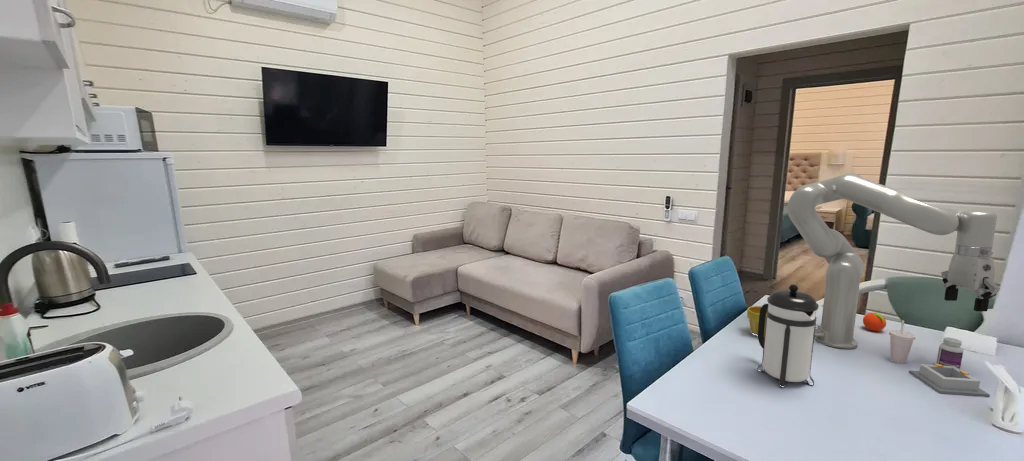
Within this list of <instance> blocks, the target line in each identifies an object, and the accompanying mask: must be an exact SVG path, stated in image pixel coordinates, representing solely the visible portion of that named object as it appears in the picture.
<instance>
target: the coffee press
mask: <svg viewBox="0 0 1024 461" xmlns="http://www.w3.org/2000/svg"><path fill="white" fill-rule="evenodd" d="M766 300H767V303H764V304H763V305H761V309H760V314H759V324H758V337H757V339H758V343H759V346H760V347H761V348H762V349H763V350H762V358H761V359H762V360H761V361H762V362H761V363H760V365H758V367H756V370H757V369H760V367H762V368H763V369H764V371H763V372H765V373H767V374H768V375H770V376H771V377H774V378H776V379H777V380H779V383H778V386H779V385H781V386H784V385H785V386H786V382H792V383H799V382H805V383H806V384H807V383H808V382H809V380H807V379H808V378H809V379H810V381H811V383H813V386H814V384H815V380H814V379H813V377H812V375H811V374H810V372H811V369H812V364H811V363H813V362H812V360H813V359H812V358H813V355H812V354H813V352H814V346H813V345H815V344H814V343H815V336H814V335H815V329H816V324H817V311H818V310H819V306H820V305H819V303H818V302H817V300H816V299H815V298H814V297H813V296H811V295H810V294H808V293H805V292H802V291H799V287H798V285H796V284H791V285H790V286H789V287H788V289H780V290H776V291H772V292H771V293H770V295H769V296H768V297H767V299H766ZM766 312H767V316H766ZM765 319H766V326H765ZM764 330H765V336H764Z"/></svg>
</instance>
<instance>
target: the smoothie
mask: <svg viewBox="0 0 1024 461" xmlns="http://www.w3.org/2000/svg"><path fill="white" fill-rule="evenodd" d="M904 325H905V320H904V319H902V320H901V325H900V326H901V327H900V329H891V330H889V333H888V335H889V336H890V337H889V339H890V340H889V342H890V343H889V345H890V361H892V362H894V363H897V364H902V365H903V364H907V360H908V358H909V354H910V351H911V349H912V345H913V343H914V341H915V340H916V335H915V334H913V333H911V332H910V331H909V332H908V331H905V330H904V328H905V327H904Z"/></svg>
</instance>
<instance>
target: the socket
mask: <svg viewBox="0 0 1024 461" xmlns="http://www.w3.org/2000/svg"><path fill="white" fill-rule="evenodd" d="M908 373H909V374H910V375H911V376H913V377H914V378H916V379H918V380H919V381H920V382H922V383H923V384H924V385H927V386H928V387H930V388H931V389H932V390H934V391H935V392H937V393H938V394H942V395H952V396H953V395H954V396H955V395H956V396H966V397H980V396H985V397H984V398H990V396H991V394H990V393H988V392H986V391H984V390H983V389H981V388H980V385H981V384H980V383H981V381H980V380H979V379H977V378H975V377H973V376H972V375H970V373H968V372H967V371H965V370H961V368H960V369H958V368H956V367H954V366H943V365H941V364H937V363H934V364H924V363H920V365H919V370H912V369H909V370H908Z"/></svg>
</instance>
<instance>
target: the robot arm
mask: <svg viewBox="0 0 1024 461" xmlns="http://www.w3.org/2000/svg"><path fill="white" fill-rule="evenodd" d="M788 199H789V200H788V202H787V215H788V217H789V219H790V221H791V223H792V224H793V225H794V227H795V228H796V229H797V231H798V232H799V234H800V236H801V238H803V240H804V241H805V243H806V244H807V245H808V247H809V248H810V250H811V252H812V253H813V254H814V255H816V256H818V257H819V258H823V259H824V260H825V261H826V262H827V264H828V265H827V268H826V272H825V284H824V286H825V287H824V297H823V306H822V313H821V323H820V325H819V326H817V328H814V329H815V335H814V336H813V337H814V340H816V341H817V342H819V343H820V344H822V345H825V346H828V347H832V348H835V349H836V348H837V349H844V350H852V349H856V348H857V347H858V345H859V343H858V341H857V340H856V339H855V338H854V332H855V326H856V325H855V324H856V319H857V318H856V317H857V308H858V301H859V293H860V285H861V284H860V283H861V279H862V278H861V277H862V275H863V272H864V271H865V270H864V269H865V264H864V262H863V260H862V257H861V256H860V255H859V254H858V253H857V251H856V250H855V249H854V247H852V245H851V243H850V242H849V241H848V239H847V238H846V237H845V236H844V235H843V234H842V233H841V232H839V231H838V230H836V229H833V228H830V227H829V226H828V225H827V223H826V222H825V221H824V219H823V217H822V216H821V215H820V214H819V213H818V212H817V210H816V207H817V206H819V205H822V204H826V203H827V204H828V203H831V202H836V201H838V200H843V199H844V200H845V201H848V202H852V203H854V204H856V205H859V206H861V207H864V208H867V209H870V210H872V211H875V212H878V213H879V214H882V215H884V216H886V217H888V218H892V219H894V220H897V221H899V222H901V223H903V224H906V225H909V226H910V227H912V228H915V229H918V230H920V231H923V232H925V233H929V234H932V235H934V236H947V235H950V234H952V233H954V232H956V241H955V245H954V246H955V247H954V253H953V254H952V257H951V259H950V263H949V267H948V270H946V271H944V270H943V271H942V272H940V274H941V278H942V282H943V284H944V285H943V287H944V288H945V292H944V298H943V299H944V300H943V301H948V302H950V301H951V302H952V301H955V302H956V301H958V295H959V288H958V287H961V288H964V289H966V290H971V291H974V293H975V295H976V296H977V297H975V299H974V305H973V311H974V312H987V311H988V310H989V304H990V300H992V299H993V298H994V297H995V296H996V295H997V293H998V292H999V291H1000V289H1001V288H1000V286H999V285H997V284H996V283H995V274H996V273H995V261H994V258H992V256H993V254H994V252H993V246H994V239H995V232H996V227H997V226H996V225H997V221H998V220H997V218H998V215H997V213H996V212H993V211H989V210H982V209H981V210H979V209H978V210H976V209H975V210H974V209H971V210H970V209H969V210H962V209H961V210H960V209H952V208H946V207H939V208H937V207H935V206H932V205H929V204H926V203H923V202H921V201H919V200H916V199H915V198H912V197H910V196H908V195H906V194H905V193H903V192H902V191H901V190H898V189H896V188H893V187H890V186H887V185H884V184H881V183H879V182H875V181H872V180H870V179H867V178H864V177H863V176H862V175H860V174H858V173H853V172H849V173H848V172H846V173H844V174H842V175H841V174H840V175H838V176H836V177H835V176H834V177H831V178H828V179H823V180H820V181H816V182H812V183H808V184H805V185H802V186H800V187H797V189H795V190H794V192H793V193H792V194H791V196H790V198H788ZM982 292H983V293H982Z"/></svg>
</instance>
